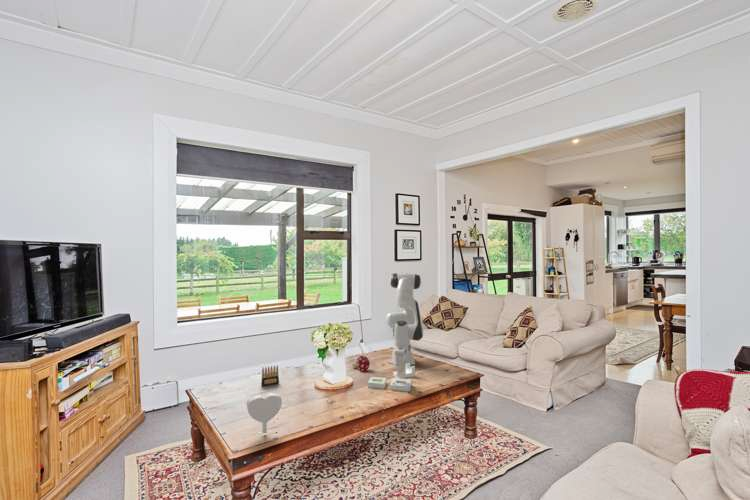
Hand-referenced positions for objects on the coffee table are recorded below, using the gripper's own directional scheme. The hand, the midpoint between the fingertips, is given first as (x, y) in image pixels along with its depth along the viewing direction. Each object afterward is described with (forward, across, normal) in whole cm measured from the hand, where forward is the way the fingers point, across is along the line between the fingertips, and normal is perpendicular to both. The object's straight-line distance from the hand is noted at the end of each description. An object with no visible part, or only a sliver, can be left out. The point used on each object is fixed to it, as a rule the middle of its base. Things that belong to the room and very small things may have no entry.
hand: (401, 370), depth 233 cm
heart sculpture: (+12, +67, -57) cm, 89 cm away
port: (+12, 0, 0) cm, 12 cm away
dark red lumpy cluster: (+12, -29, -32) cm, 45 cm away
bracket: (+12, -20, -1) cm, 24 cm away
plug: (+4, 0, 0) cm, 4 cm away
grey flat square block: (+12, 0, -15) cm, 19 cm away
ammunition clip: (+12, +11, -82) cm, 84 cm away
